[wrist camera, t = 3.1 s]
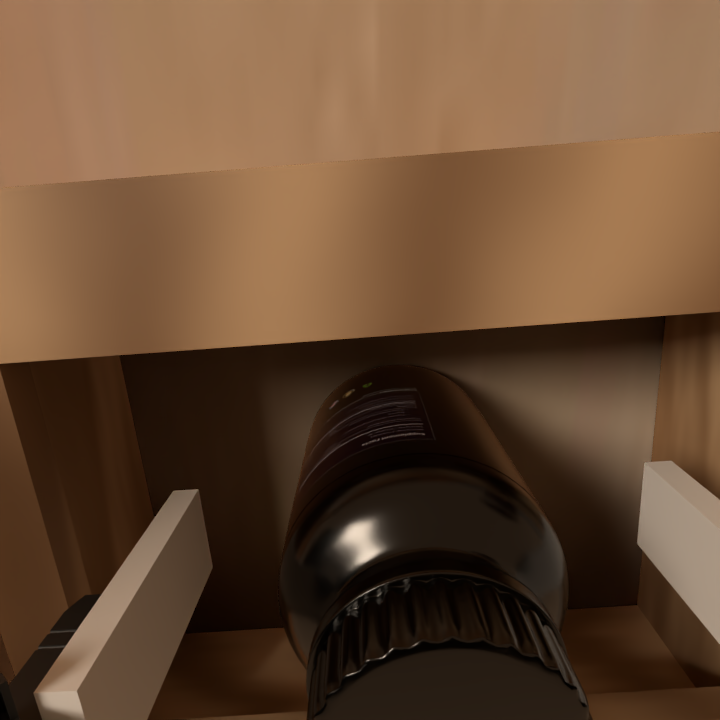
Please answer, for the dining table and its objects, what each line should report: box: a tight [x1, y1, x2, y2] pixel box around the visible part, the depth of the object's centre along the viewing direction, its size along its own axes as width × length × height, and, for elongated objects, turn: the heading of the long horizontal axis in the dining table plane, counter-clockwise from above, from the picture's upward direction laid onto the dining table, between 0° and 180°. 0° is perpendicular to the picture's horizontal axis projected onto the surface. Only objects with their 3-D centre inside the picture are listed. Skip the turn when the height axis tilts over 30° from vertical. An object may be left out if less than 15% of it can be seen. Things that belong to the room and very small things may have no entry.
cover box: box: [0, 132, 720, 720], centre depth 16 cm, size 22×19×7 cm
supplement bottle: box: [278, 365, 593, 720], centre depth 14 cm, size 7×7×12 cm
